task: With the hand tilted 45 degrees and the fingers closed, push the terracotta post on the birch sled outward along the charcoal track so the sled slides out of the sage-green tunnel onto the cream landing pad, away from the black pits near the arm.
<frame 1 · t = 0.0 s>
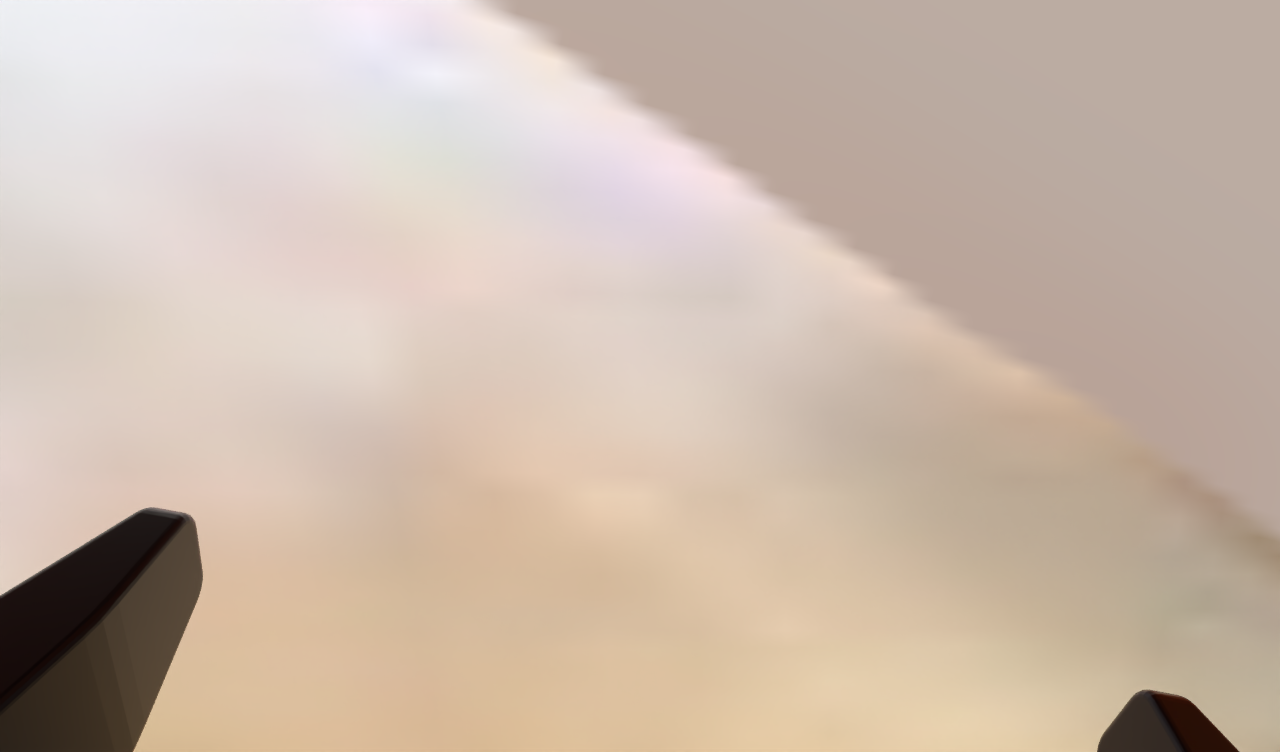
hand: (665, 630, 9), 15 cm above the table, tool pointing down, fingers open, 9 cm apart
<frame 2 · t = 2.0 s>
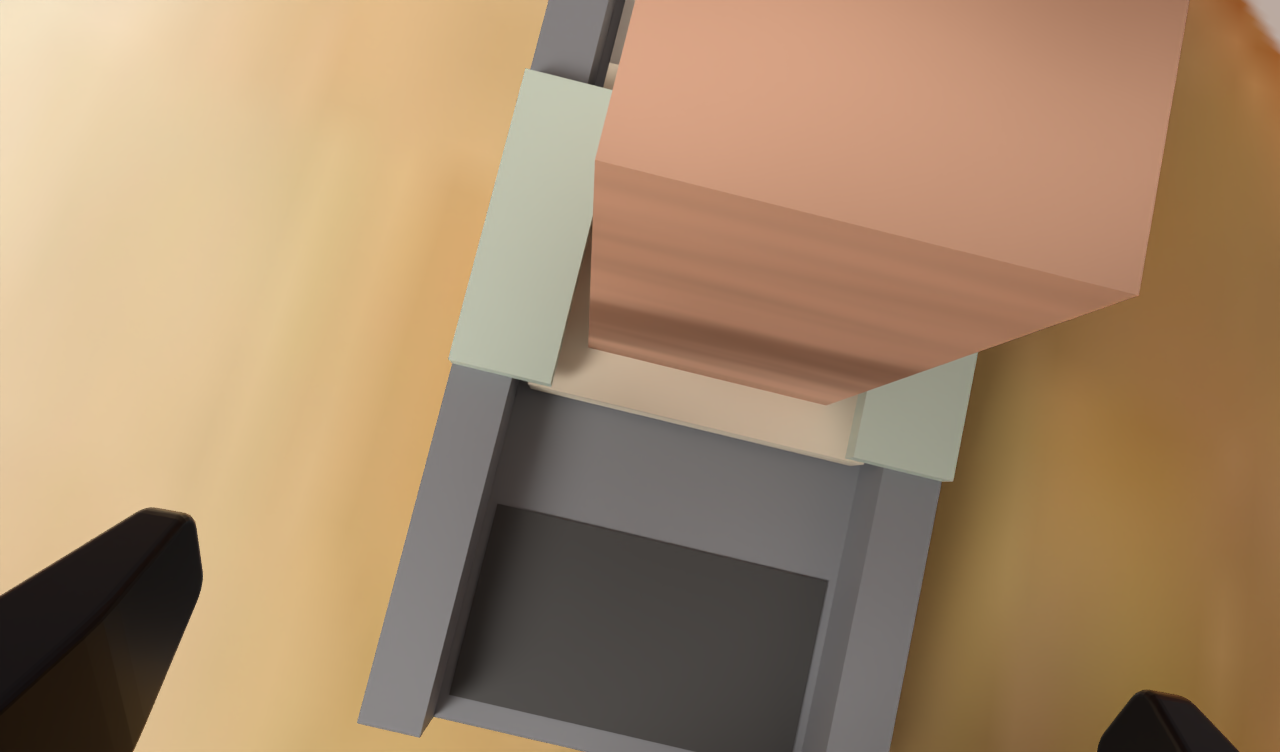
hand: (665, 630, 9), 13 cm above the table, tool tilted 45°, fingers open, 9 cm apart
track: (711, 308, 23), on the table
sled: (785, 181, 15), point 8 cm above the table, slide at 0.0 cm
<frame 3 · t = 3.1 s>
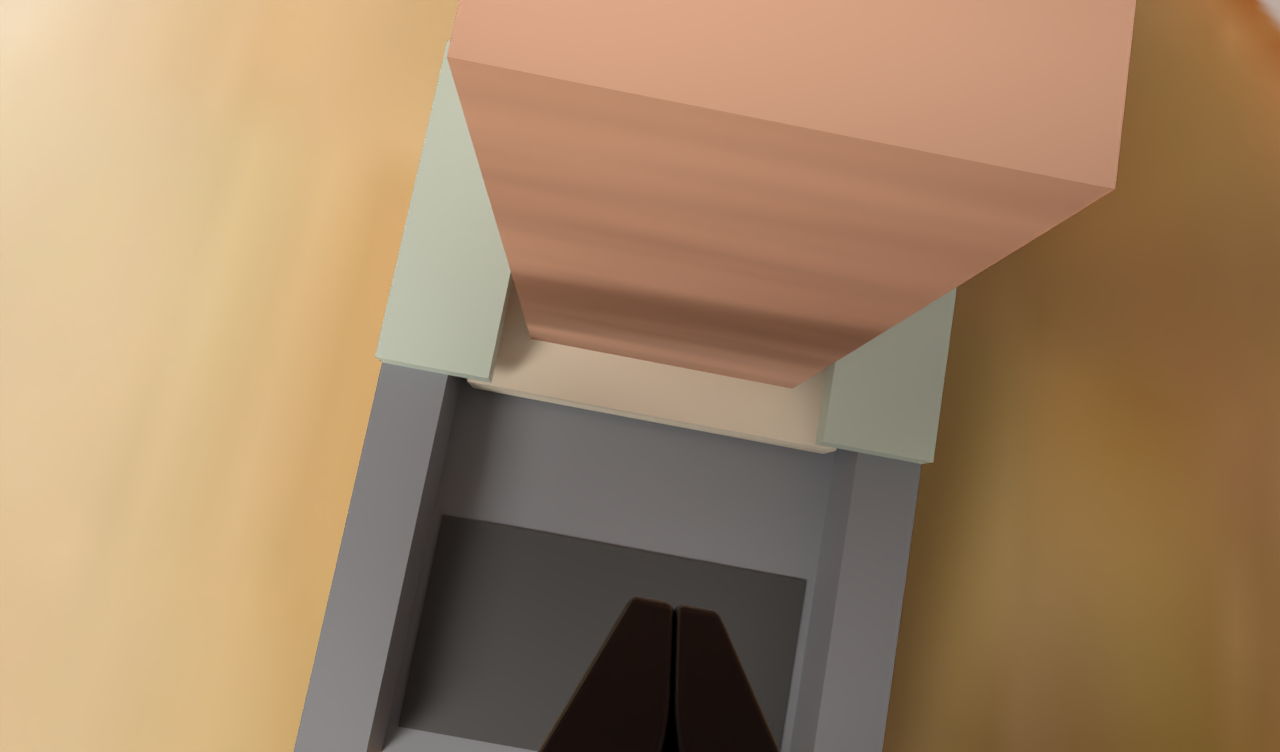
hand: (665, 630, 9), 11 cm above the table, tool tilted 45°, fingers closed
track: (667, 295, 21), on the table
sled: (722, 132, 13), point 8 cm above the table, slide at 0.0 cm
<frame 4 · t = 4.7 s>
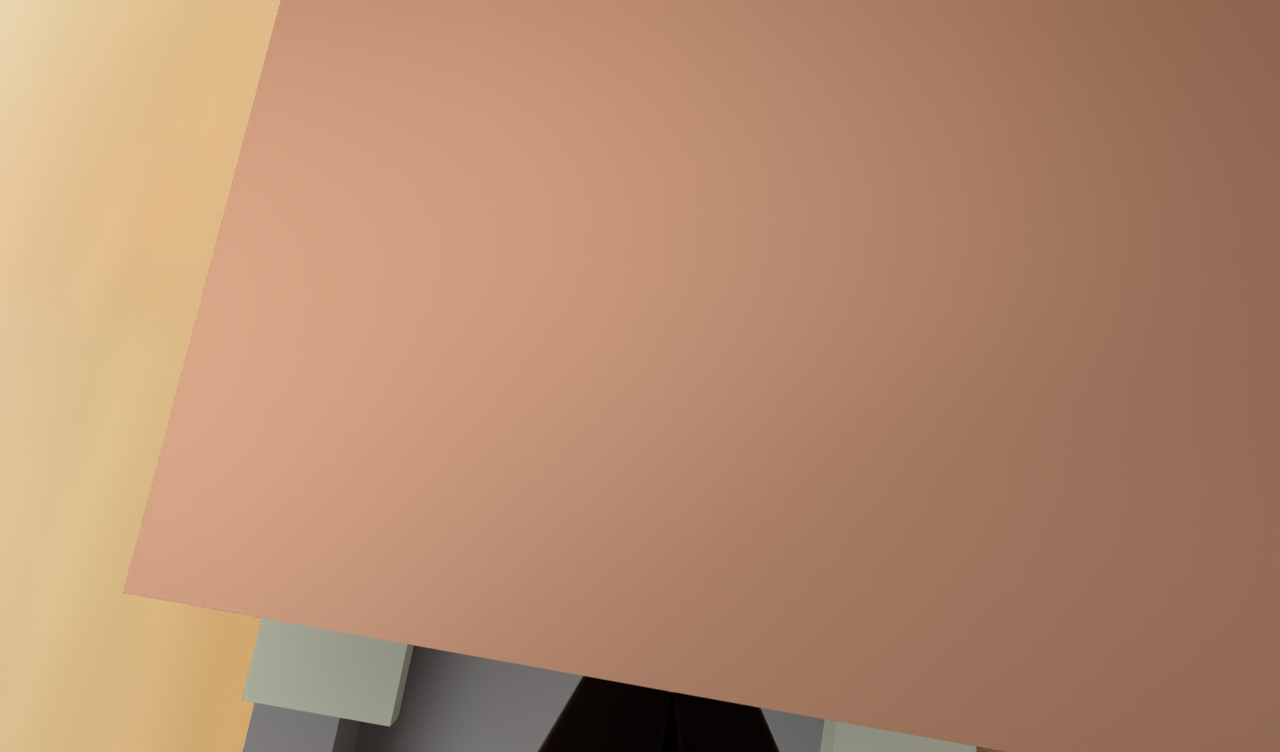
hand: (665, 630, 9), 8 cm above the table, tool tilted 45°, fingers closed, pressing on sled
track: (633, 541, 17), on the table
sled: (710, 353, 10), point 8 cm above the table, slide at 1.5 cm, touching gripper
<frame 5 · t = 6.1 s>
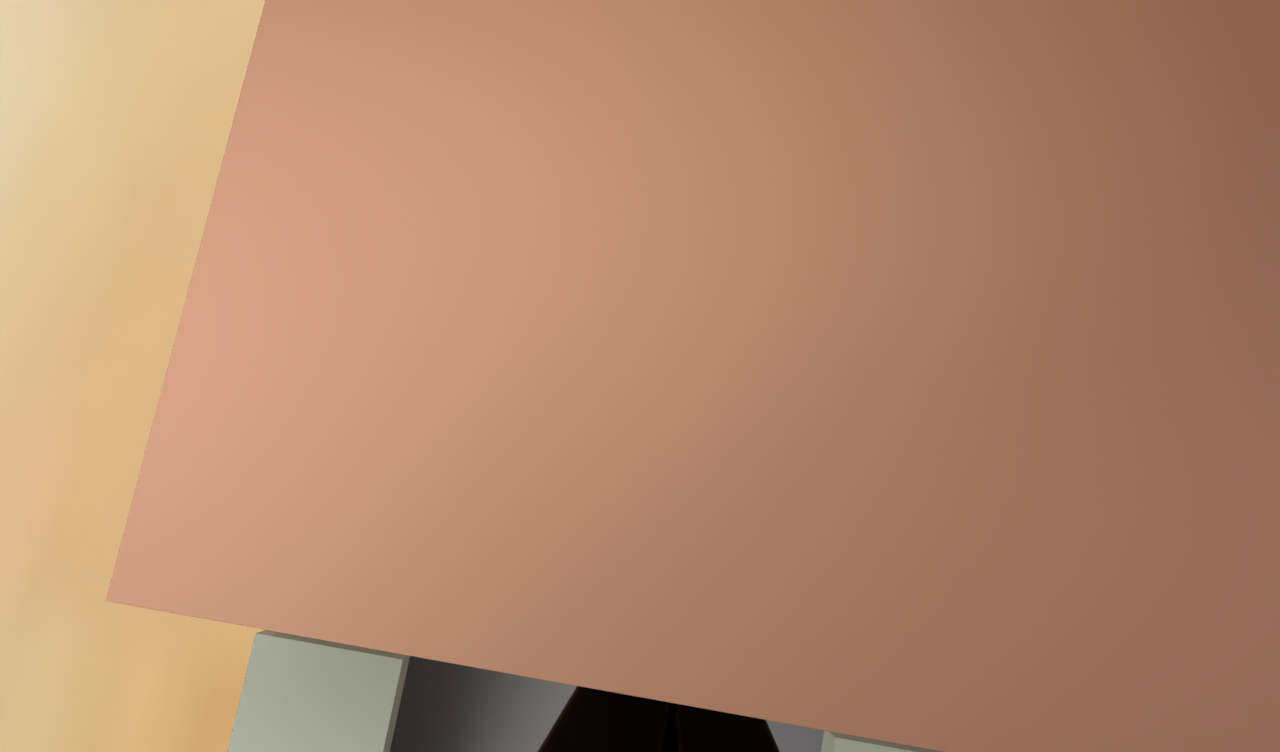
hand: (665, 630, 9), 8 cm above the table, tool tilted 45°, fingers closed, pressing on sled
sled: (711, 349, 10), point 8 cm above the table, slide at 6.7 cm, touching gripper
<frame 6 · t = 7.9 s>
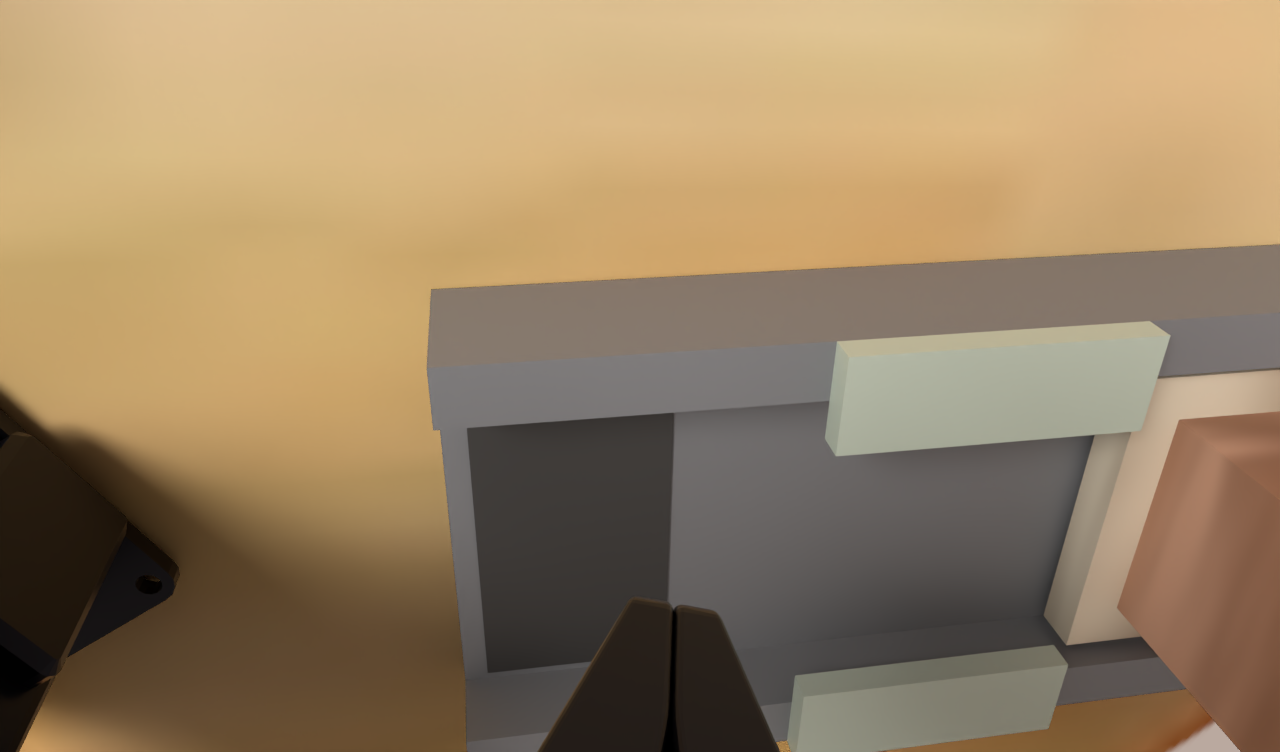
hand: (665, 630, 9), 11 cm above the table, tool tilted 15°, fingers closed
track: (889, 464, 22), on the table
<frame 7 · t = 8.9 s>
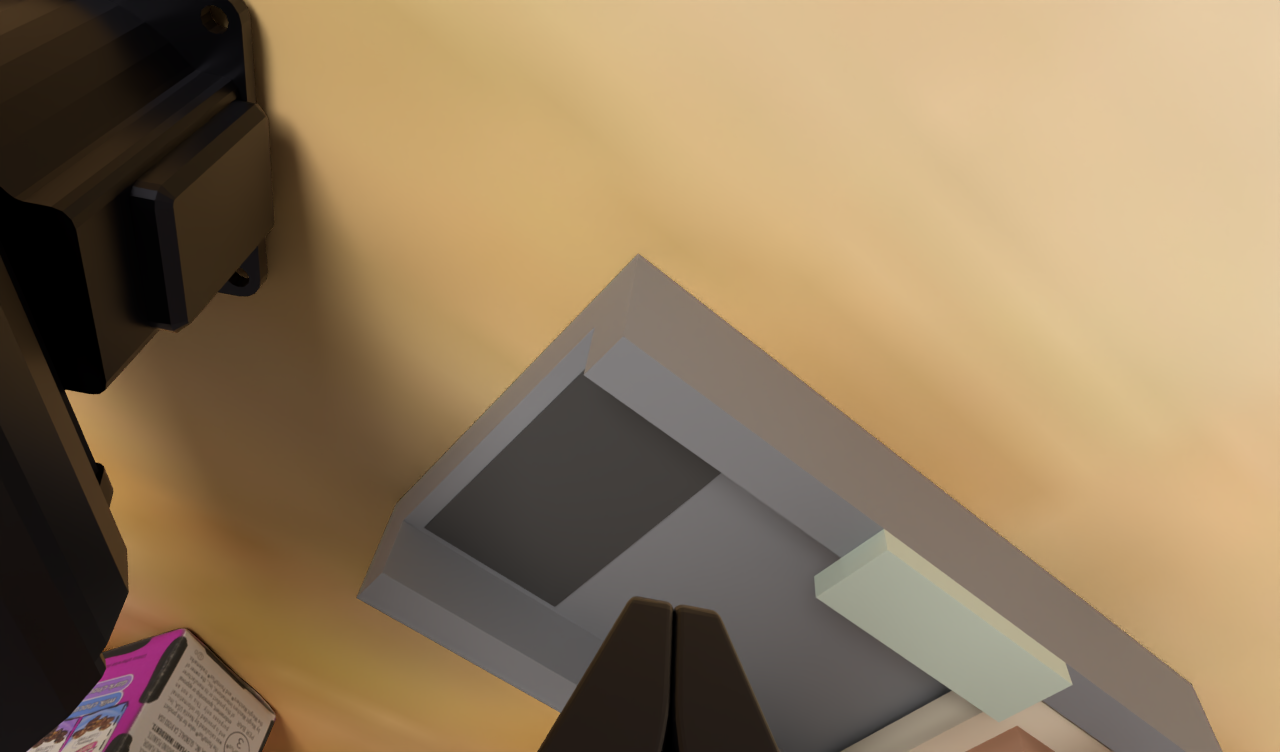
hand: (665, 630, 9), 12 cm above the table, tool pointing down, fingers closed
track: (805, 597, 26), on the table
candy bar box: (117, 700, 32), on the table
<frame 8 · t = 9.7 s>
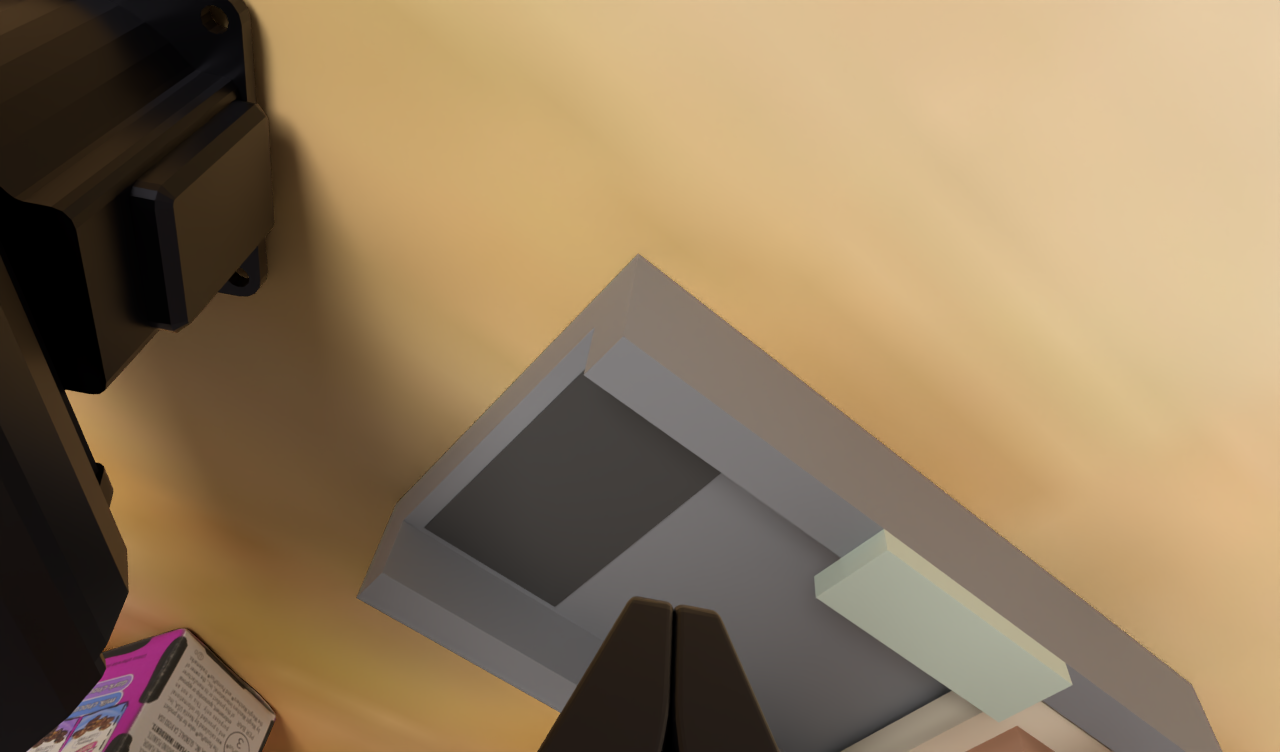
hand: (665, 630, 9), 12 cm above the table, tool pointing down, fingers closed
track: (805, 597, 26), on the table
candy bar box: (117, 700, 32), on the table
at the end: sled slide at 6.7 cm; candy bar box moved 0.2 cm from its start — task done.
